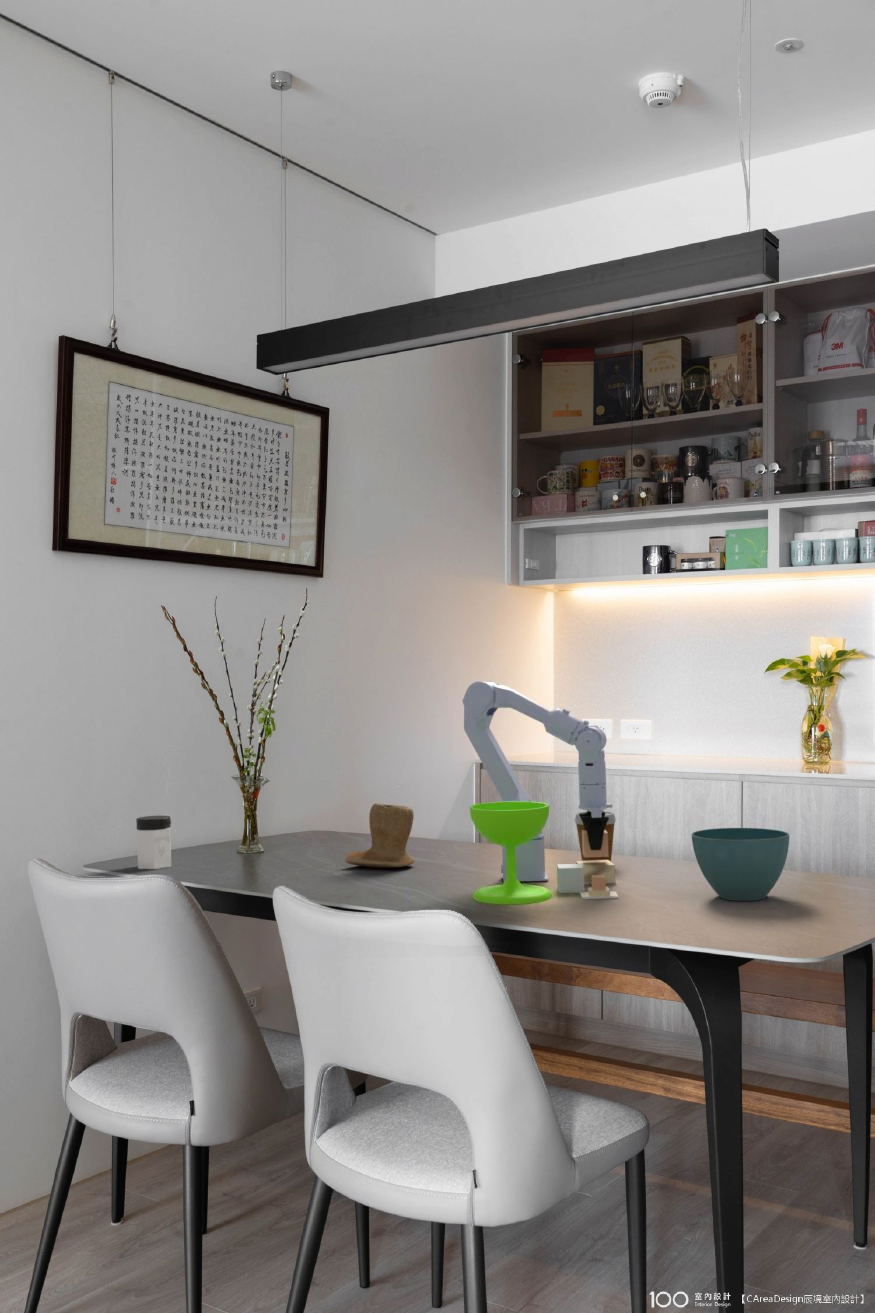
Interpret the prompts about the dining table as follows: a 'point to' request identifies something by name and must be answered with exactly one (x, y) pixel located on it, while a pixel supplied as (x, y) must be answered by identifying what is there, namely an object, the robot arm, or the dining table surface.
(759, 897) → the dark teal bowl
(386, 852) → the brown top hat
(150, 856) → the jar
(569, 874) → the grey block
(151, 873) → the dining table surface
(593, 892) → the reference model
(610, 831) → the disposable coffee cup
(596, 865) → the maple base block
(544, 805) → the wineglass
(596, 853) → the terracotta block
